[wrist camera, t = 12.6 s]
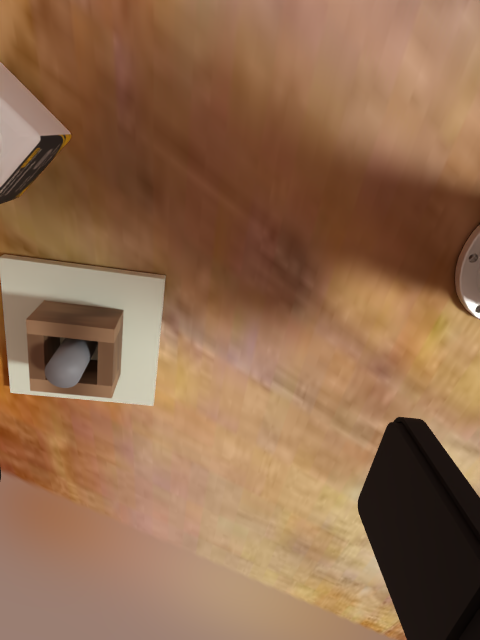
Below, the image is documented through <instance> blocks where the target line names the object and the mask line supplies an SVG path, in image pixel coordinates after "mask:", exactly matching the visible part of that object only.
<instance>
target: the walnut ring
mask: <svg viewBox="0 0 480 640" xmlns="http://www.w3.org/2000/svg"><path fill="white" fill-rule="evenodd" d="M123 314H124V310H120V309H111V308H103V307H95V306H86V305H78V304H70V303H61V302H53V301H45V300H44V301H43V302H42V303H41V304H40V305H39V306H38V307H37V308H36V309H35V310H34V311H33V312H32V314H31V315H30V316H29V317H28V318H27V319H26V330H27V347H28V363H29V379H30V391H38V392H49V393H60V394H70V395H81V396H92V397H103V398H112V396H113V394H114V391H115V388H116V385H117V383H118V380H119V377H120V374H121V355H122V335H123ZM60 337H62V338H71V339H80V340H89V341H98V360H90V361H89V363H88V365H87V367H86V369H85V371H84V373H83V374H82V376H81V378H80V380H79V382H78V383H77V384H76V385H75V386H73V387H70V388H60V387H57V386H55V385H53V384H51V383H50V382H49V381H48V380H47V378H46V376H45V367H46V365H47V364H48V362H49V361H50V359H51V358H52V356H53V355H54V354H55V352H56V351H57V349H58V348H59V346H60Z"/></svg>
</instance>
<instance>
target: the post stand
mask: <svg viewBox="0 0 480 640" xmlns="http://www.w3.org/2000/svg"><path fill="white" fill-rule="evenodd" d="M0 278H1V289H2V301H3V312H4V324H5V336H6V347H7V359H8V370H9V382H10V393H19V394H30V395H41V396H52V397H63V398H74V399H84V400H95V401H106V402H117V403H128V404H139V405H150V406H153V404H154V398H155V387H156V376H157V366H158V355H159V344H160V333H161V322H162V311H163V300H164V289H165V279H166V275H158V274H151V273H143V272H136V271H128V270H121V269H113V268H105V267H98V266H90V265H83V264H75V263H68V262H60V261H52V260H45V259H37V258H30V257H22V256H15V255H7V254H3V255H2V256H0ZM44 300H45V301H53V302H61V303H70V304H78V305H86V306H95V307H103V308H111V309H120V310H124V314H123V335H122V355H121V374H120V377H119V380H118V383H117V385H116V388H115V391H114V394H113V396H112V398H103V397H92V396H81V395H70V394H60V393H49V392H38V391H30V379H29V363H28V347H27V330H26V319H27V318H28V317H29V316H30V315H31V314H32V312H33V311H34V310H35V309H36V308H37V307H38V306H39V305H40V304H41V303H42V302H43V301H44ZM90 360H98V341H89V340H80V339H71V338H62V337H60V346H59V348H58V349H57V351H56V352H55V354H54V355H53V356H52V358H51V359H50V361H49V362H48V364H47V365H46V367H45V376H46V378H47V380H48V381H49V382H50V383H51V384H53V385H55V386H57V387H60V388H70V387H73V386H75V385H76V384H77V383H78V382H79V380H80V378H81V376H82V374H83V373H84V371H85V369H86V367H87V365H88V363H89V361H90Z"/></svg>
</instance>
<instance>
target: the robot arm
mask: <svg viewBox="0 0 480 640" xmlns="http://www.w3.org/2000/svg"><path fill="white" fill-rule="evenodd" d="M455 285H456V292H457V294H458V297H459V299H460V302H461V303H462V305H463V306H464V307H465V309H466V310H467V311H469V312H470V313H471V314H472V315H473V316H475V317H476V318H478V319H479V320H480V225H479V226H478V227H477V228H476V229H475V230H474V231H473V232H472V234H471V235H470V237H469V238H468V240H467V242H466V243H465V245H464V247H463V249H462V251H461V253H460V256H459V258H458V262H457V266H456V272H455ZM0 480H1V469H0ZM358 512H359V515H360V518H361V520H362V523H363V525H364V528H365V531H366V533H367V536H368V539H369V541H370V544H371V546H372V549H373V552H374V554H375V557H376V560H377V562H378V565H379V567H380V570H381V573H382V575H383V578H384V580H385V583H386V586H387V588H388V591H389V594H390V596H391V599H392V601H393V604H394V607H395V609H396V612H397V615H398V617H399V620H400V622H401V625H402V628H403V630H404V633H405V636H406V638H407V640H480V498H479V496H478V495H477V493H476V492H475V491H474V489H473V488H472V486H471V485H470V484H469V482H468V481H467V480H466V478H465V477H464V475H463V474H462V473H461V471H460V470H459V468H458V467H457V466H456V464H455V463H454V462H453V460H452V459H451V457H450V456H449V455H448V453H447V452H446V450H445V449H444V448H443V446H442V445H441V444H440V442H439V441H438V439H437V438H436V437H435V435H434V434H433V432H432V431H431V430H430V428H429V427H428V426H427V424H426V423H425V422H424V421H423V420H421V419H415V418H404V417H398V418H396V419H395V420H394V422H391V423H389V424H388V426H387V428H386V430H385V433H384V435H383V438H382V440H381V443H380V445H379V448H378V450H377V453H376V455H375V458H374V461H373V463H372V466H371V468H370V471H369V473H368V476H367V478H366V481H365V483H364V486H363V488H362V491H361V493H360V496H359V499H358Z"/></svg>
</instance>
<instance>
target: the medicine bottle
mask: <svg viewBox="0 0 480 640" xmlns="http://www.w3.org/2000/svg"><path fill="white" fill-rule="evenodd" d="M71 137H72V136H71V133H70V131H69V130H68V129H67V128H66V127H65V126H64V125H63V124H62V123H61V122H60V121H59V120H58V119H57V118H56V117H55V116H54V115H53V114H52V113H51V112H50V111H49V110H48V109H47V108H46V107H45V106H44V105H43V104H42V103H41V102H40V101H39V100H38V99H37V98H36V97H35V96H34V95H33V94H32V93H31V92H30V91H29V90H28V89H27V88H26V87H25V86H24V85H23V84H22V83H21V82H20V81H19V80H18V79H17V78H16V77H15V76H14V75H13V74H12V73H11V72H10V71H9V70H8V69H7V68H6V67H5V66H4V65H3V64H2V63H1V62H0V204H2V203H4V202H7V201H10V200H12V199H15V198H18V197H20V196H21V195H22V194H23V192H24V191H25V190H26V189H27V188H28V187H29V186H30V185H31V183H32V182H33V181H34V180H35V179H36V178H37V177H38V175H39V174H40V173H41V172H42V171H43V170H44V169H45V168H46V166H47V165H48V164H49V163H50V162H51V161H52V160H53V158H54V157H55V156H56V155H57V154H58V153H59V152H60V150H61V149H62V148H63V147H64V146H65V145H66V144H67V143H68V141H69V140H70V139H71Z"/></svg>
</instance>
